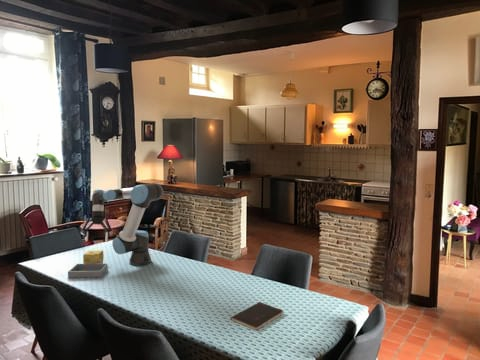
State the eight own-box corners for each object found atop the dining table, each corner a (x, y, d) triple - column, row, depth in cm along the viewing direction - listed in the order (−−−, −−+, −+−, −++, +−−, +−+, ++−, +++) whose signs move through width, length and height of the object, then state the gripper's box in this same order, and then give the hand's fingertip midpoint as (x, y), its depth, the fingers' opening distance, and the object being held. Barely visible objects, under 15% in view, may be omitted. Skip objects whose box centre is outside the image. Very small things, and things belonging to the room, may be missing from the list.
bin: (107, 270, 253) (107, 263, 252) (100, 278, 238) (100, 271, 237) (77, 270, 252) (76, 263, 251) (68, 278, 237) (67, 271, 236)
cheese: (98, 268, 255) (97, 254, 254) (82, 268, 255) (82, 254, 254) (104, 263, 266) (103, 250, 265) (89, 263, 266) (88, 249, 265)
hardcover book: (283, 314, 192) (283, 310, 192) (256, 331, 175) (256, 327, 174) (258, 305, 202) (258, 301, 202) (230, 321, 185) (230, 316, 185)
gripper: (113, 213, 277) (112, 242, 271) (78, 211, 262) (76, 241, 256) (117, 211, 271) (116, 240, 265) (81, 209, 256) (79, 240, 251)
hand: (96, 241), depth 261 cm, fingers open, 13 cm apart
